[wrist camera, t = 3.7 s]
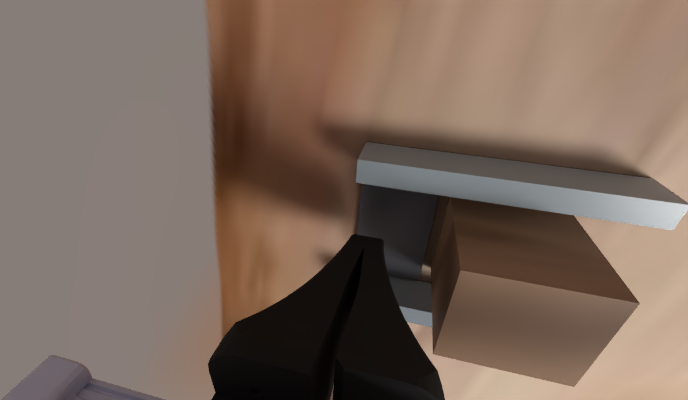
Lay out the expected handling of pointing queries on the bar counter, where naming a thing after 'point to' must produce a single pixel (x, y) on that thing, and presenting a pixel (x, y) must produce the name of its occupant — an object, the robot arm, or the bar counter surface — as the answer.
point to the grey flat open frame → (486, 186)
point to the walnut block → (523, 292)
